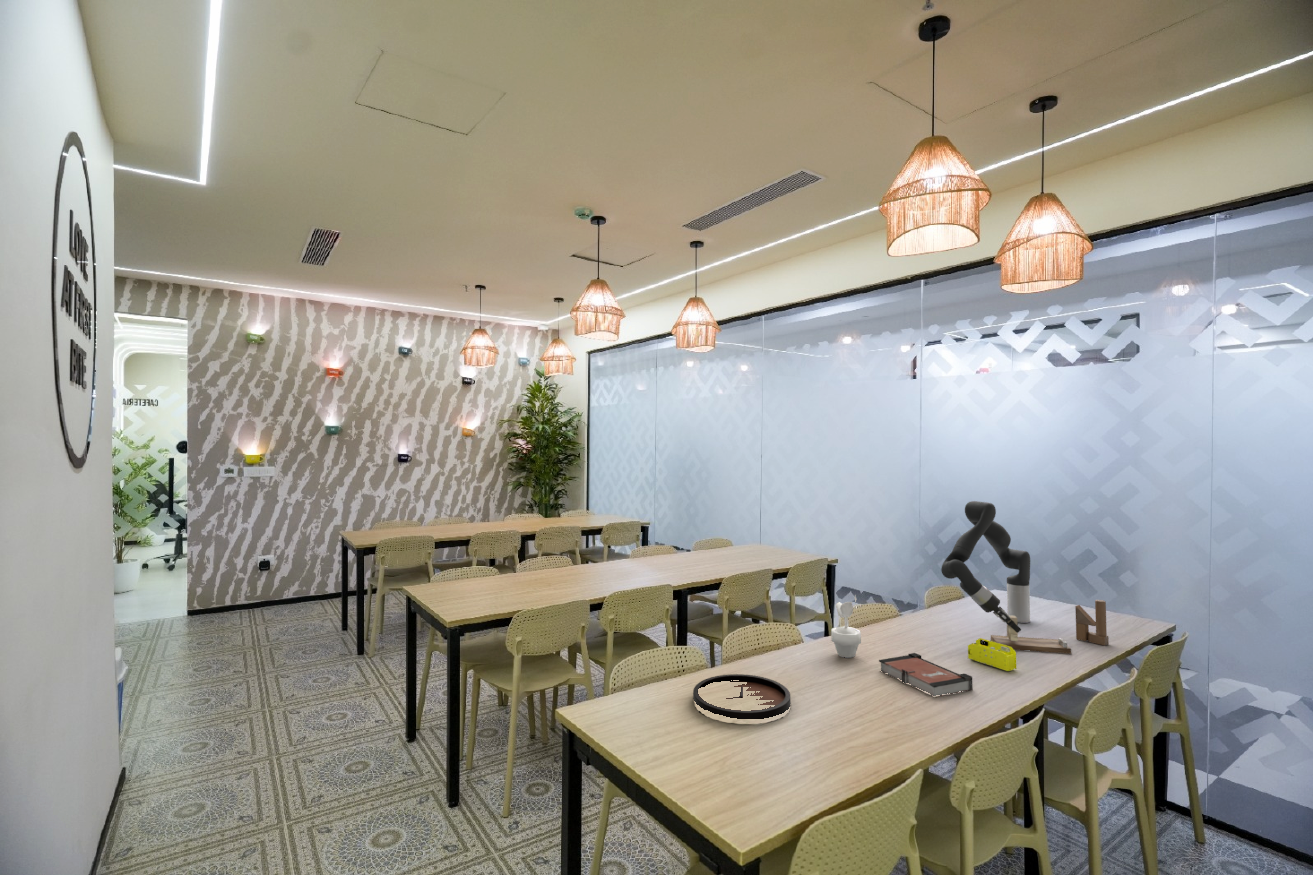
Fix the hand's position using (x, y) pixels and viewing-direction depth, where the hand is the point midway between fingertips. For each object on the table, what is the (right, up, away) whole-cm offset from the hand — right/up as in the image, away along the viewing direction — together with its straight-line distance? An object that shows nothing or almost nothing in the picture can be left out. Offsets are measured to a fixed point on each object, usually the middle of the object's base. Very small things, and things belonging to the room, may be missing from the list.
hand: (1017, 629), depth 250 cm
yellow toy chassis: (-22, -7, -20) cm, 31 cm away
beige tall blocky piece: (-2, -4, 0) cm, 4 cm away
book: (-54, -8, -34) cm, 64 cm away
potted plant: (-73, -8, -8) cm, 74 cm away
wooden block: (+35, -7, +5) cm, 36 cm away
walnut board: (+5, -7, 0) cm, 9 cm away
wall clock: (-121, -8, -52) cm, 132 cm away
